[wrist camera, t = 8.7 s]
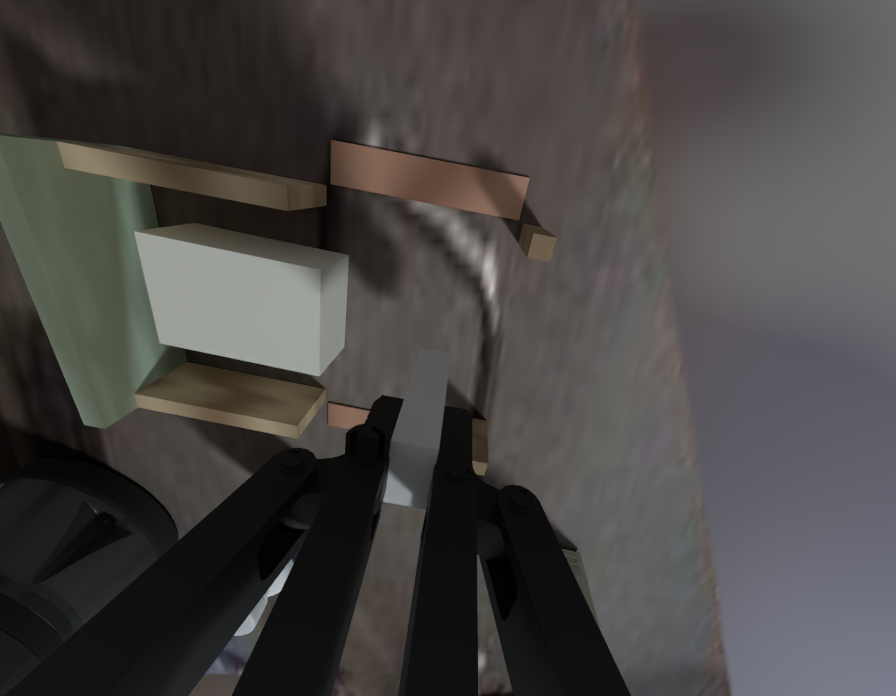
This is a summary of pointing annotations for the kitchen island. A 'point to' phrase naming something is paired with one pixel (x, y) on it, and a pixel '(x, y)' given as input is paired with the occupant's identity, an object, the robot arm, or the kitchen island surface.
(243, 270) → the cream block
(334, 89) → the kitchen island surface
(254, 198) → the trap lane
